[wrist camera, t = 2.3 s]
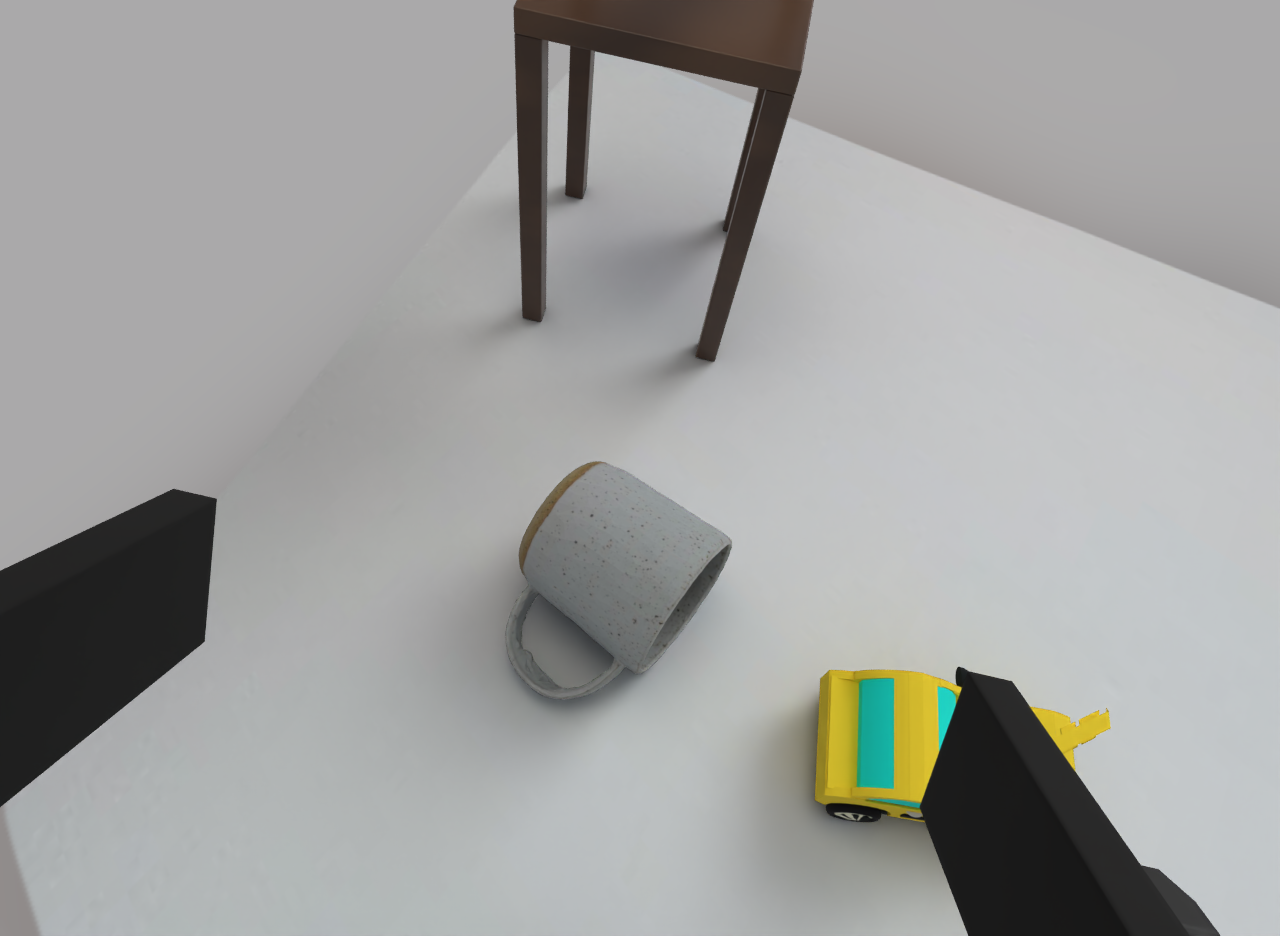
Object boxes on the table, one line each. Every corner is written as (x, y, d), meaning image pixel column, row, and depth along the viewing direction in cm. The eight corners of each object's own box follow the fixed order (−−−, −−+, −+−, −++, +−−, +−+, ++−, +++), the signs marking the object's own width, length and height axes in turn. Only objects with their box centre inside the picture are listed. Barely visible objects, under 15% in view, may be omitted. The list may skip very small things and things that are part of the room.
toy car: (802, 830, 40) (860, 804, 32) (810, 668, 44) (864, 612, 36) (1056, 874, 40) (1170, 858, 33) (1042, 709, 44) (1142, 662, 36)
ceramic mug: (597, 492, 47) (604, 419, 40) (720, 579, 45) (750, 518, 39) (466, 643, 42) (450, 589, 36) (598, 746, 41) (608, 709, 34)
